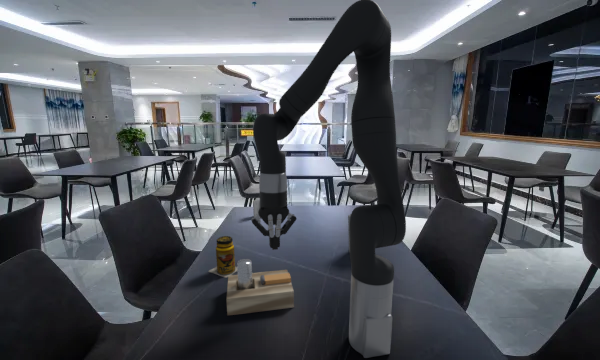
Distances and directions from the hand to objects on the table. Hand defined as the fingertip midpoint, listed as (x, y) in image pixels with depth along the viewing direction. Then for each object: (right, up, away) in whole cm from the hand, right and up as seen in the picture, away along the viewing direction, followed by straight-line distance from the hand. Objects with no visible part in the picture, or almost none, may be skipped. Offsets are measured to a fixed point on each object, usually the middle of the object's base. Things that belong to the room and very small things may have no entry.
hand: (274, 248), depth 82 cm
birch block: (-5, -15, +3) cm, 16 cm away
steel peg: (-8, -15, +2) cm, 18 cm away
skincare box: (+31, -9, +33) cm, 46 cm away
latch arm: (0, -10, +3) cm, 10 cm away
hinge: (-12, -1, +76) cm, 77 cm away
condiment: (-19, -12, +19) cm, 30 cm away
